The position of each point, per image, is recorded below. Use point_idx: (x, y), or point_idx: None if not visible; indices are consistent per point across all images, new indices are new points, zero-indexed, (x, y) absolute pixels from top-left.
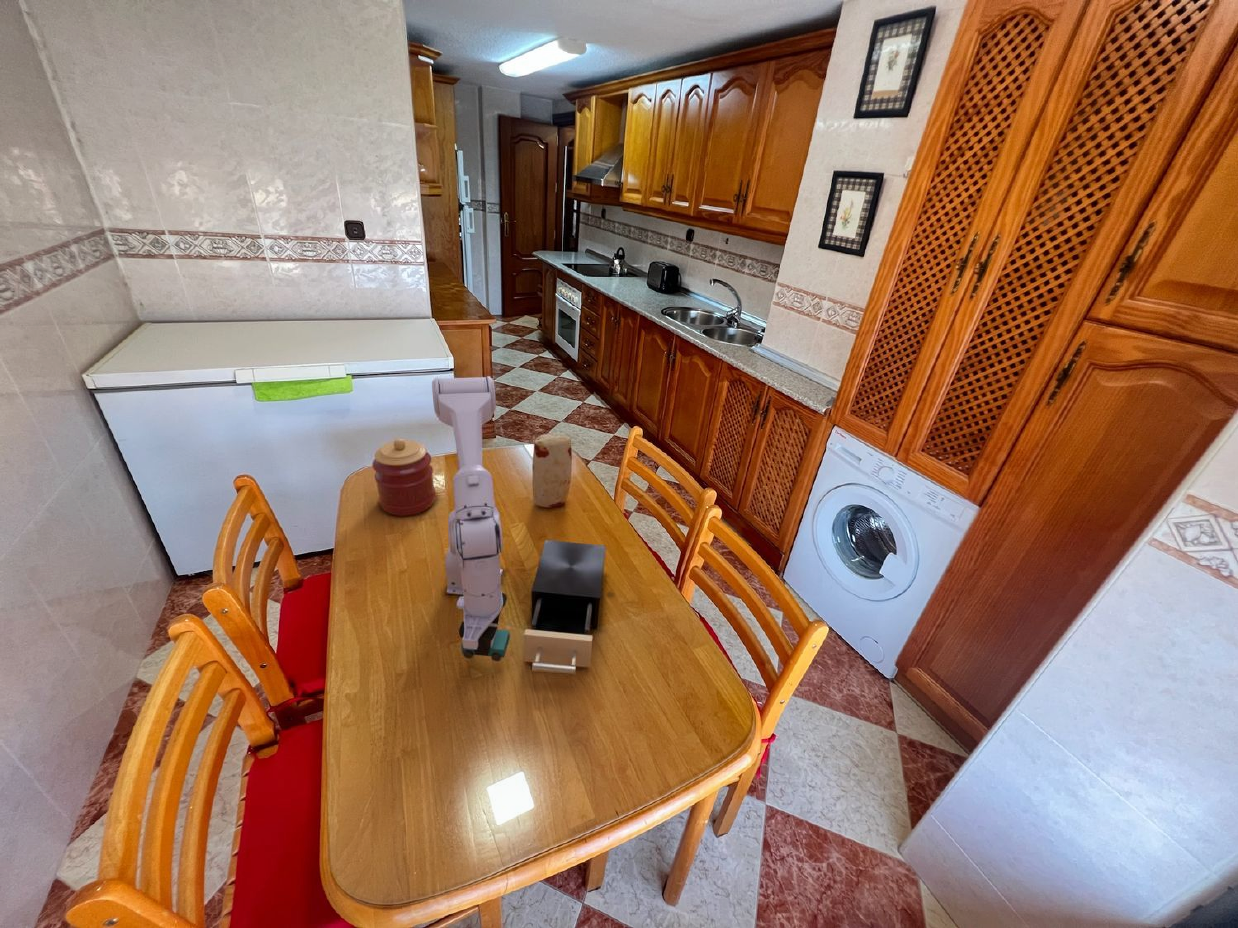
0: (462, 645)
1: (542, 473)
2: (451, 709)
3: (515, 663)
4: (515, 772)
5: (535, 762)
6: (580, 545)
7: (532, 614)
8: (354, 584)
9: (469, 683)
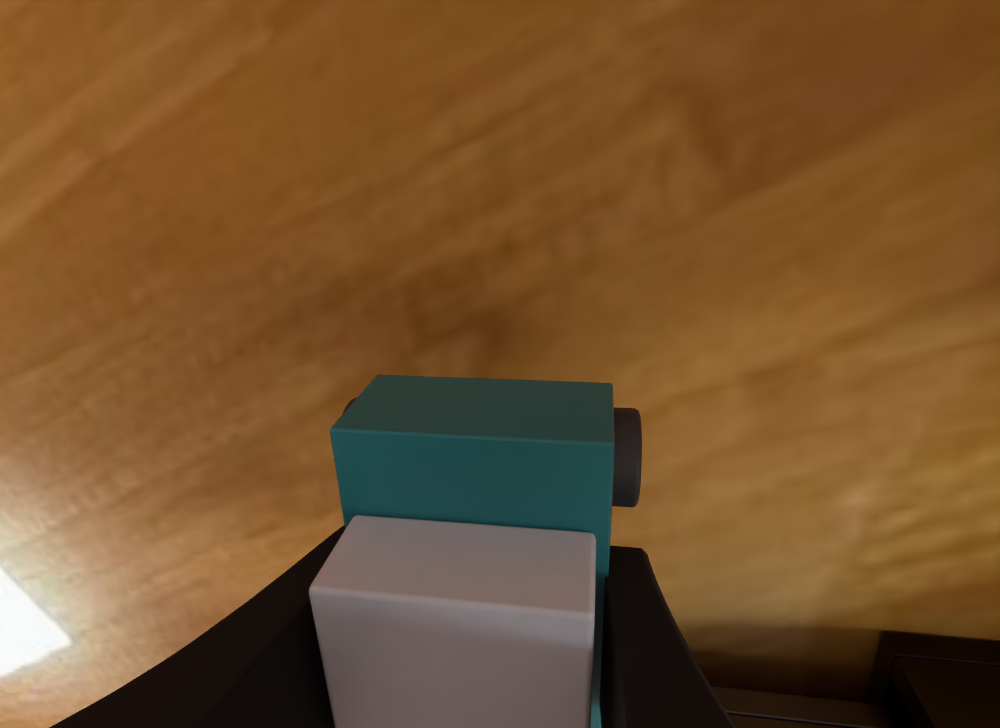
0: (338, 440)
1: None
2: (194, 300)
3: None
4: (56, 620)
5: (116, 677)
6: None
7: (925, 720)
8: None
9: (373, 354)
